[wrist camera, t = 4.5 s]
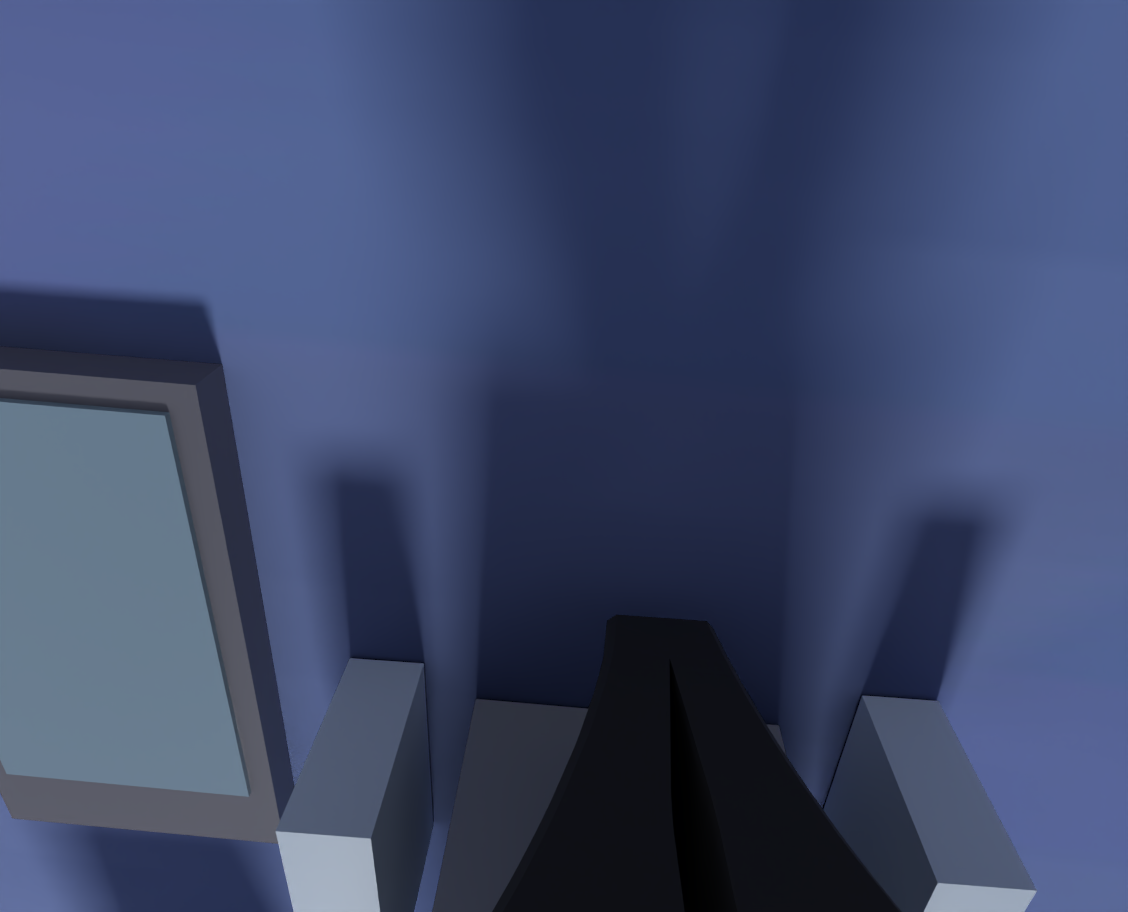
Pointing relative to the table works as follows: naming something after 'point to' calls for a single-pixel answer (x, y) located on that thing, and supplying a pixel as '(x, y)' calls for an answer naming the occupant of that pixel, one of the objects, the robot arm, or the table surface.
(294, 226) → the table surface
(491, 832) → the cube
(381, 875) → the socket rails
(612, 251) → the table surface
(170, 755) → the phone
